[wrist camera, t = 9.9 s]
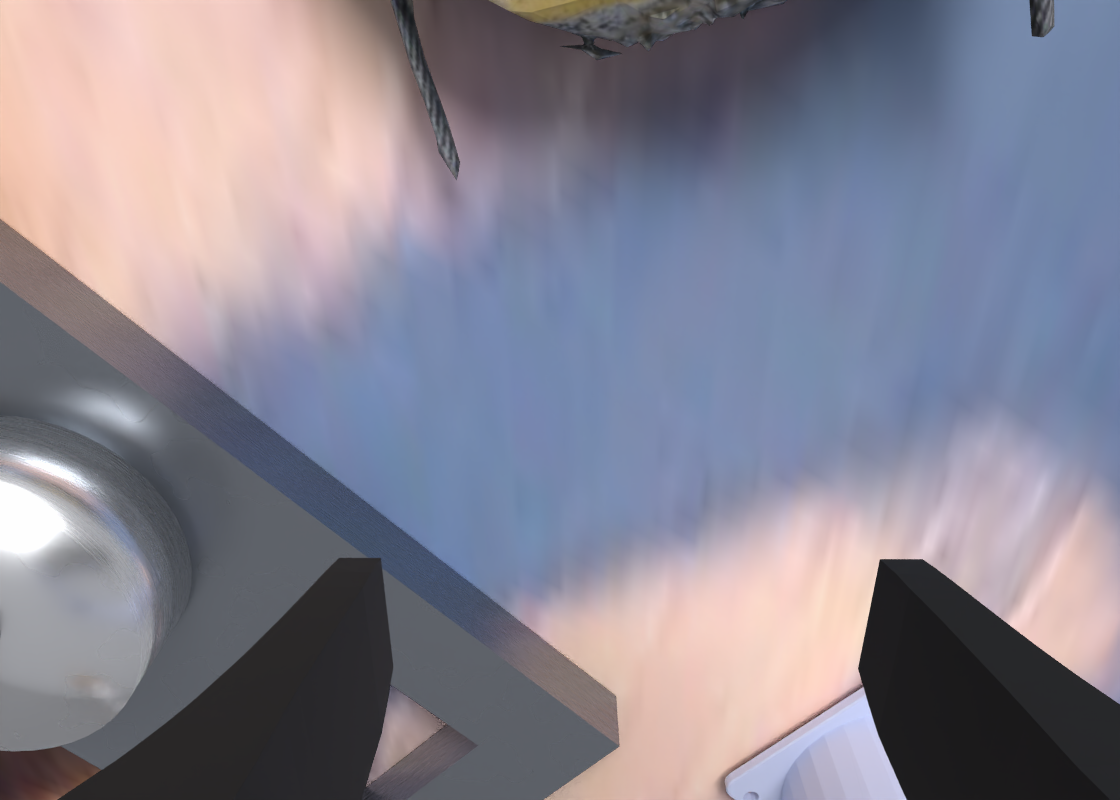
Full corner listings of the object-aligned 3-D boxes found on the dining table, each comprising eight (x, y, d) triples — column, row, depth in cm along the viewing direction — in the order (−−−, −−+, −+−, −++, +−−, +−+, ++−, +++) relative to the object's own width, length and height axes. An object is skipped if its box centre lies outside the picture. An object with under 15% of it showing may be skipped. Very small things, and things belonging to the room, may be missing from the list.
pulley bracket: (615, 696, 27) (628, 872, 21) (378, 868, 30) (336, 1056, 25) (-9, 212, 20) (-222, 288, 15) (-214, 508, 24) (-446, 656, 18)
